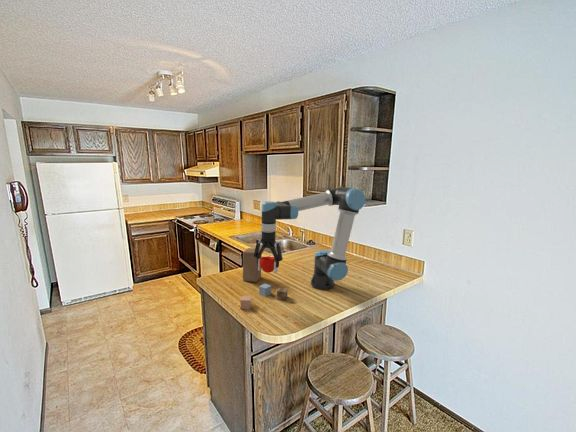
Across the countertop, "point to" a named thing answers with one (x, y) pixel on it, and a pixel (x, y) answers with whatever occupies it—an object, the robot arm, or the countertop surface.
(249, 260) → the wooden block
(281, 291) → the walnut cube
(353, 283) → the countertop surface
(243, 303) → the terracotta cube
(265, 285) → the slate-blue cube
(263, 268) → the apple
